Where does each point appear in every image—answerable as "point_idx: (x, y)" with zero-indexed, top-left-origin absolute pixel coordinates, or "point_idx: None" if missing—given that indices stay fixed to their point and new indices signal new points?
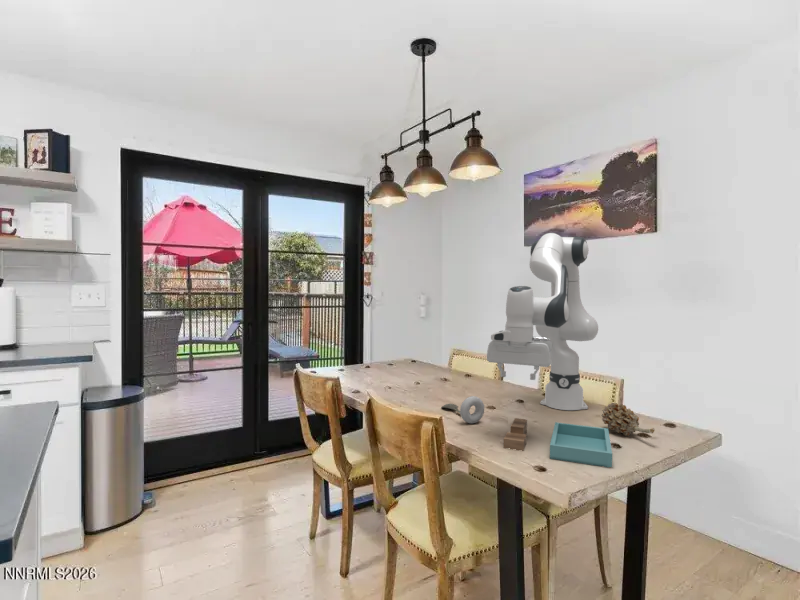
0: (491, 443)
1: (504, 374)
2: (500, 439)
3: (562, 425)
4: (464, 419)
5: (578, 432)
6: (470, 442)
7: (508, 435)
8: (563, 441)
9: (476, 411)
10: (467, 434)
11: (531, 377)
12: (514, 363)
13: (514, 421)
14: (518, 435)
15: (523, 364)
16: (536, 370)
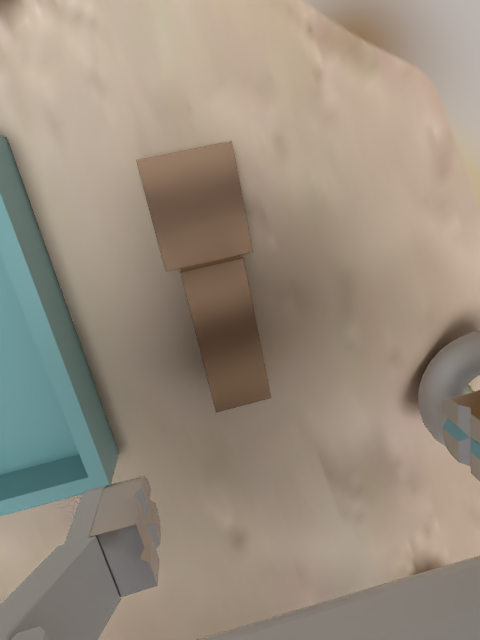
0: (289, 176)
1: (472, 409)
2: (275, 250)
3: (73, 477)
4: (472, 332)
5: (12, 480)
6: (368, 131)
7: (230, 205)
8: (40, 370)
9: None
10: (410, 224)
11: (122, 494)
12: (469, 566)
13: (255, 346)
14: (191, 234)
15: (256, 628)
16: (9, 619)
